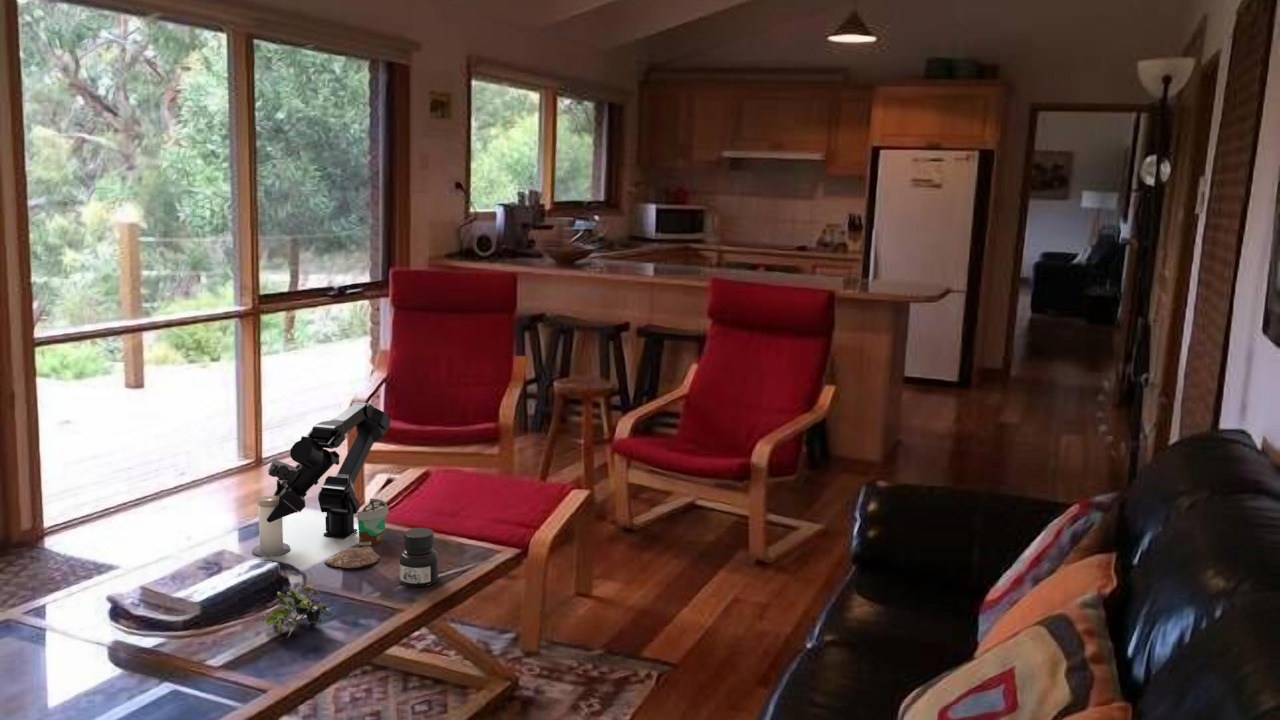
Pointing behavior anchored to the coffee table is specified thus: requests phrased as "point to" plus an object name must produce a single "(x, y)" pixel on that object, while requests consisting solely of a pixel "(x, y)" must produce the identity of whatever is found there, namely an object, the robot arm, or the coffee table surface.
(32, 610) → the coffee table surface
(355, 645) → the coffee table surface
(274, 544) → the tumbler
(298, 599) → the green leafy plant
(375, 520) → the food container
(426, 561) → the ink bottle
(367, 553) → the shell
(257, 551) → the coaster
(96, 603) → the coffee table surface
